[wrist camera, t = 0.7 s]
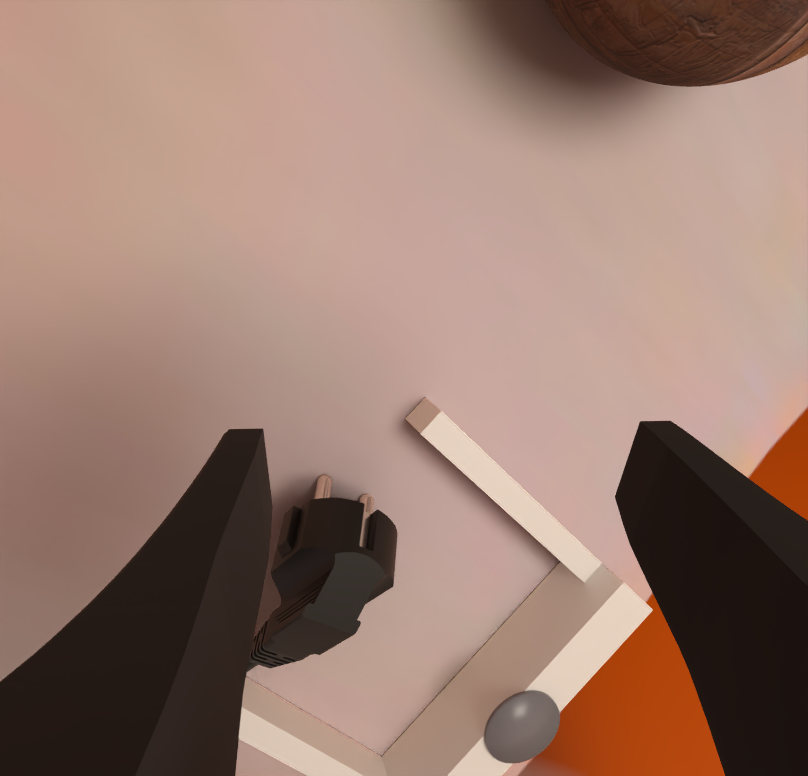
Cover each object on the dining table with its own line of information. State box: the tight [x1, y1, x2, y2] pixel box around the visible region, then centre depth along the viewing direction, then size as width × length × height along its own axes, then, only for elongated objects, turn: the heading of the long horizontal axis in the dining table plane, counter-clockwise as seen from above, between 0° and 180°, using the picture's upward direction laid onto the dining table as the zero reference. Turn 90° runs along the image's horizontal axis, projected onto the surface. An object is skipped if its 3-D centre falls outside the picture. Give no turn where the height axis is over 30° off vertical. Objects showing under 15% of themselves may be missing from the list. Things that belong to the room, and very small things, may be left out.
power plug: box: [247, 475, 397, 672], centre depth 31 cm, size 6×8×12 cm
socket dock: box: [239, 398, 652, 776], centre depth 33 cm, size 19×18×5 cm
